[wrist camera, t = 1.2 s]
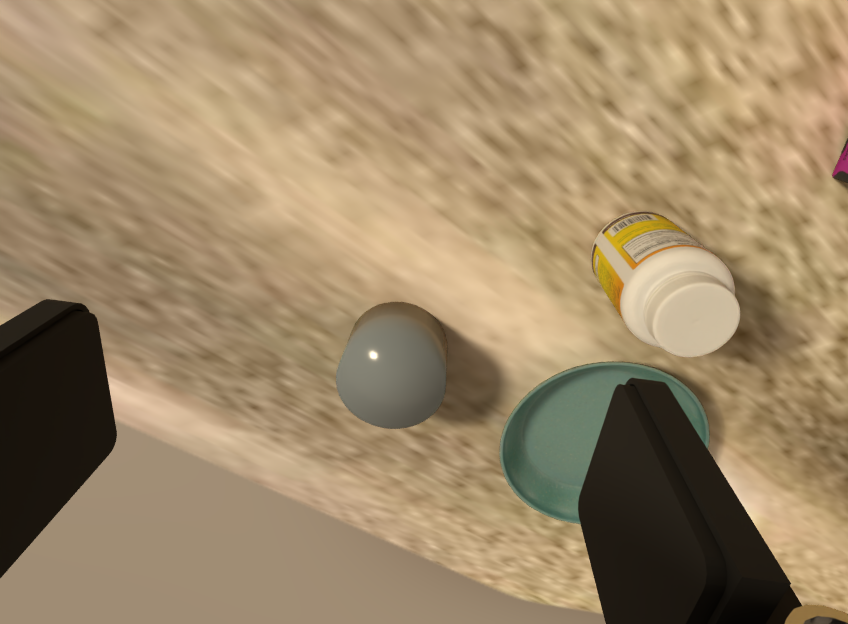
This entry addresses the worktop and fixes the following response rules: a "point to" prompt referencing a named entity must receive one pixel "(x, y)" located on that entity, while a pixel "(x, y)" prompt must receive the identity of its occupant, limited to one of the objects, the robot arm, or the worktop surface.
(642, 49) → the worktop surface
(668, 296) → the supplement bottle
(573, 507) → the saucer
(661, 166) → the worktop surface
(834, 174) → the candy bar box
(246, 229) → the worktop surface
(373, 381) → the grey short cylinder
